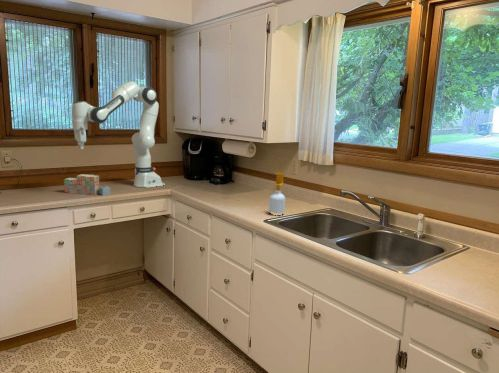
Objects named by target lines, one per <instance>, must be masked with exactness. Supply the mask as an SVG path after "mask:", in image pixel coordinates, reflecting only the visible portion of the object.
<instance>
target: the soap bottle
mask: <svg viewBox="0 0 499 373" xmlns="http://www.w3.org/2000/svg"><path fill="white" fill-rule="evenodd" d="M274 174H275V175H276V179H275V180H276V181H275V182H276V183H273V185H274V186H275V187H276V188H275V189H274V192H273V193H272V194H271V195H270V196H269V203H268V204H269V206H268V212H269V211H270V212H274V213H282V212H284V211H286V209H285V208H286V197H285V195H284V194H283V193H282V190H281V186H283V184H284V173H282V172H274Z"/></svg>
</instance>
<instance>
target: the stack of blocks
mask: <svg viewBox="0 0 499 373" xmlns="http://www.w3.org/2000/svg"><path fill="white" fill-rule="evenodd" d="M63 184H64V187H63V188H64V193H65V194H74V195H75V194H76V195H77V194H78V195H86V196H87V195H89V196H96V195H100V194H99V187H100V175H95V174H82V173H81V174H79V175H76V177H68V178H67V177H66V178H65V179H63Z"/></svg>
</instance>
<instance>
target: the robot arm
mask: <svg viewBox="0 0 499 373" xmlns="http://www.w3.org/2000/svg"><path fill="white" fill-rule="evenodd" d="M157 97H158V96H157V91H156V89H154V88H153V87H151V86H144V85H143V86H139V84H138V83H137V82H135V81H132V80H130V81H127V82H125V83H123V84H121V85H119V86H117V88H115V89H114V90H113V91H112V93H111V100H109V101H108V102H106V103H105V104H104V105H102V106H93V105H91V104H90V103H88V102H87V101H85V100H79V101H75V102H73V103H72V105H71V106H72V108H71V114H72V115H71V116H72V121H71V123H72V130H73V133H74V140H76V142H77V148H78V149H79V148H80V149H81V150H84V149H85V148H84V147H85V143H86V142H87V132H86V131H87V130H88V129H89V128H88V127H89V126H88V122H92V123H97V124H103V123H105V122H107V120H108V118H109V116H110V115H111V114H112V113H114V112H115V111H116V110H118V108H120V107H121V106H123V105H124V104H126V103H128V102H129V101H131V100H132V99H133V100H135V101H136V102H140V103H142V105H143V108H142V110H141V111H142V112H141V115H140V118H139V123H138V124H139V131H138V132H136V133H134V134H132V136H131V143H132V145H133V150H134V151H133V152H134V157H135V159H134V161H135V164H134V166H135V167H134V182H133V187H138V188H146V189H147V188H157V187H164V186H165V183H164V182H163V181H162V178H161V176H160V175H159V174H158V173H156V172H155V171H156V169H157V168H156V167H154V166H153V167H152V157H151V156H152V155H151V153H150V149H151V148H153V147H154V146H155V143H156V142H155V127H156V123H157V118H158V114H159V108H160V105H159V102H158V101H157V100H158V99H157ZM163 185H164V186H163ZM156 186H157V187H156Z"/></svg>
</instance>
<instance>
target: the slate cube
mask: <svg viewBox="0 0 499 373" xmlns="http://www.w3.org/2000/svg"><path fill="white" fill-rule="evenodd" d="M98 195H101V196H110V195H111V187H110V186H107V185H103V186H99V194H98Z"/></svg>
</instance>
